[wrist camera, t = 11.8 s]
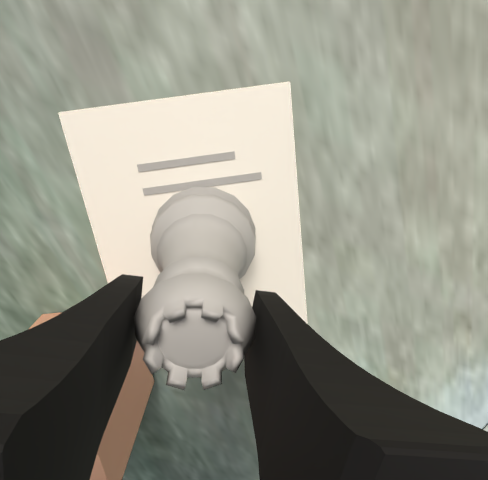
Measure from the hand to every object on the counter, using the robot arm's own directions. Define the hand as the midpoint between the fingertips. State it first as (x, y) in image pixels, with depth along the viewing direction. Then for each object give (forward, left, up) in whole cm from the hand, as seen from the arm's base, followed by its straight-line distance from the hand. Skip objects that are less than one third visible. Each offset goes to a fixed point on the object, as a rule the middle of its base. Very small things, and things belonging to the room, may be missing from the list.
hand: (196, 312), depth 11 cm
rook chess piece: (0, 0, -6) cm, 6 cm away
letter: (0, 0, -6) cm, 6 cm away
